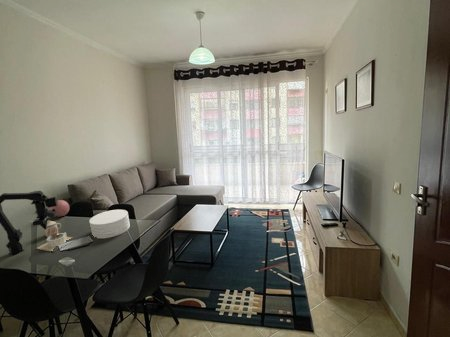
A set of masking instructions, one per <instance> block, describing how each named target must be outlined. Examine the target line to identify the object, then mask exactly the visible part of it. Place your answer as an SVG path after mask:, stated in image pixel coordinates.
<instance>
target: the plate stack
mask: <svg viewBox="0 0 450 337" xmlns="http://www.w3.org/2000/svg"><path fill="white" fill-rule="evenodd" d="M130 222H131V221H130V218H129V212H128V211H127V210H126V209H112V210H106V211H103V212H100V213H98V214H95V215H94V216H92V217H91V218H89V222H88V223H89V226H90V230H91V235H93V236H94V237H93V236H92V237H93V238H95V237H97V238H96V239H109V238H112V237H116V236H119V235H122V234H124V233H125V232H126V231H128V230H129V229H130V228H131V224H130Z"/></svg>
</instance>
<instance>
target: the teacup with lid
mask: <svg viewBox="0 0 450 337" xmlns="http://www.w3.org/2000/svg"><path fill="white" fill-rule="evenodd" d="M58 225H59V226H58ZM61 227H62V224H61V223H60V222H56V221H52V220H48V221H47V229H44V228H43V232H44V235H45V237H47V238H48V237H50V236H51V235H52V234H54V233H59V229H61Z"/></svg>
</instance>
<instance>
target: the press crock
mask: <svg viewBox="0 0 450 337" xmlns="http://www.w3.org/2000/svg"><path fill="white" fill-rule="evenodd" d="M58 233H59V234H60V235H59V236H58V237H57V239H55V238H52V237H51V236H50V237H47V238H46V241H47V242H46V243H44V244H41V245H40V246H38V247H36V249H37V250H41V251H47V252H51V251H53V249H54V248H55V247H56V246H58V245H60V244H63V243H65V242H66V240H69V239H71V238H72V237H71V236H68V235H67V232H58Z"/></svg>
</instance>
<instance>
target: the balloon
mask: <svg viewBox="0 0 450 337" xmlns="http://www.w3.org/2000/svg"><path fill="white" fill-rule="evenodd" d="M57 201H58V206H54V207H49V208H48V210H49V211H50V210H52V209H56V212H57V213H56V216H55V217H56V218H57V217H58V218H59V217H60V218H61V217H63V216H66V215H67V214H68V213H69V211H70V204H69V203H68V202H67V201H66V200H63V199H59V200H58V199H57Z"/></svg>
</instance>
